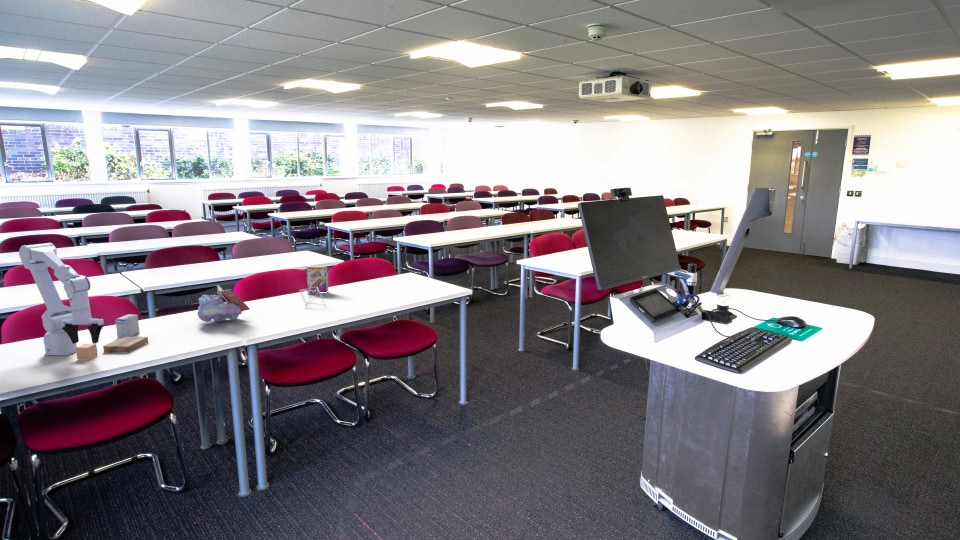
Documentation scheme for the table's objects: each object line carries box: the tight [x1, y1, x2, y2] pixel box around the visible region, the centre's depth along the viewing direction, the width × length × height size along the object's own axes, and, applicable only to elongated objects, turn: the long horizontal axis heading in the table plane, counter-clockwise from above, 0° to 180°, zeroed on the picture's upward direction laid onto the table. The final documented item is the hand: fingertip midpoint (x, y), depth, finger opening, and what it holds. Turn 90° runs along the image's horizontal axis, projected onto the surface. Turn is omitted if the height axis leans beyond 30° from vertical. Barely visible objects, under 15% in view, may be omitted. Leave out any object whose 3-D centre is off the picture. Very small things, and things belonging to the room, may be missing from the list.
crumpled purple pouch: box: [197, 284, 251, 323], centre depth 242 cm, size 20×22×18 cm
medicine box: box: [114, 313, 140, 339], centre depth 222 cm, size 8×4×9 cm, turn 178°
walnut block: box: [102, 336, 149, 353], centre depth 208 cm, size 10×12×3 cm
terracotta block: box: [75, 343, 99, 360], centre depth 196 cm, size 4×4×5 cm
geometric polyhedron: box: [299, 287, 325, 308], centre depth 275 cm, size 12×11×9 cm
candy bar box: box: [306, 265, 329, 293], centre depth 301 cm, size 11×5×16 cm, turn 93°
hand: (85, 342), depth 195 cm, fingers open, 7 cm apart
